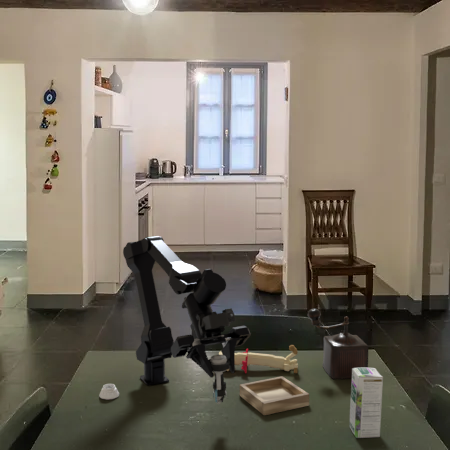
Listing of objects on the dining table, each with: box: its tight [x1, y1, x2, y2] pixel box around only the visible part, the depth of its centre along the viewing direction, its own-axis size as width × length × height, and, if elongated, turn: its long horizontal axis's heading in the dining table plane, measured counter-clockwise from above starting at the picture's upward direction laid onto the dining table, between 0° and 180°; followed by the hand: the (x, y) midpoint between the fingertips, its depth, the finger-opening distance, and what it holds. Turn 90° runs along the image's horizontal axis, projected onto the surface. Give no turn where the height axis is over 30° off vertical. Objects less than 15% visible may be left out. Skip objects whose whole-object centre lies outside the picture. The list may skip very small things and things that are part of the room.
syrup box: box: [349, 366, 384, 439], centre depth 141 cm, size 6×6×14 cm
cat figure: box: [218, 344, 299, 374], centre depth 179 cm, size 10×9×25 cm
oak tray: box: [239, 376, 310, 416], centre depth 158 cm, size 13×13×3 cm
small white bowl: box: [98, 383, 120, 400], centre depth 161 cm, size 5×3×5 cm
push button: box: [208, 354, 230, 405], centre depth 142 cm, size 7×5×10 cm
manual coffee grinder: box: [307, 308, 369, 380], centre depth 177 cm, size 16×11×18 cm
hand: (222, 374), depth 141 cm, fingers closed on push button, 5 cm apart
